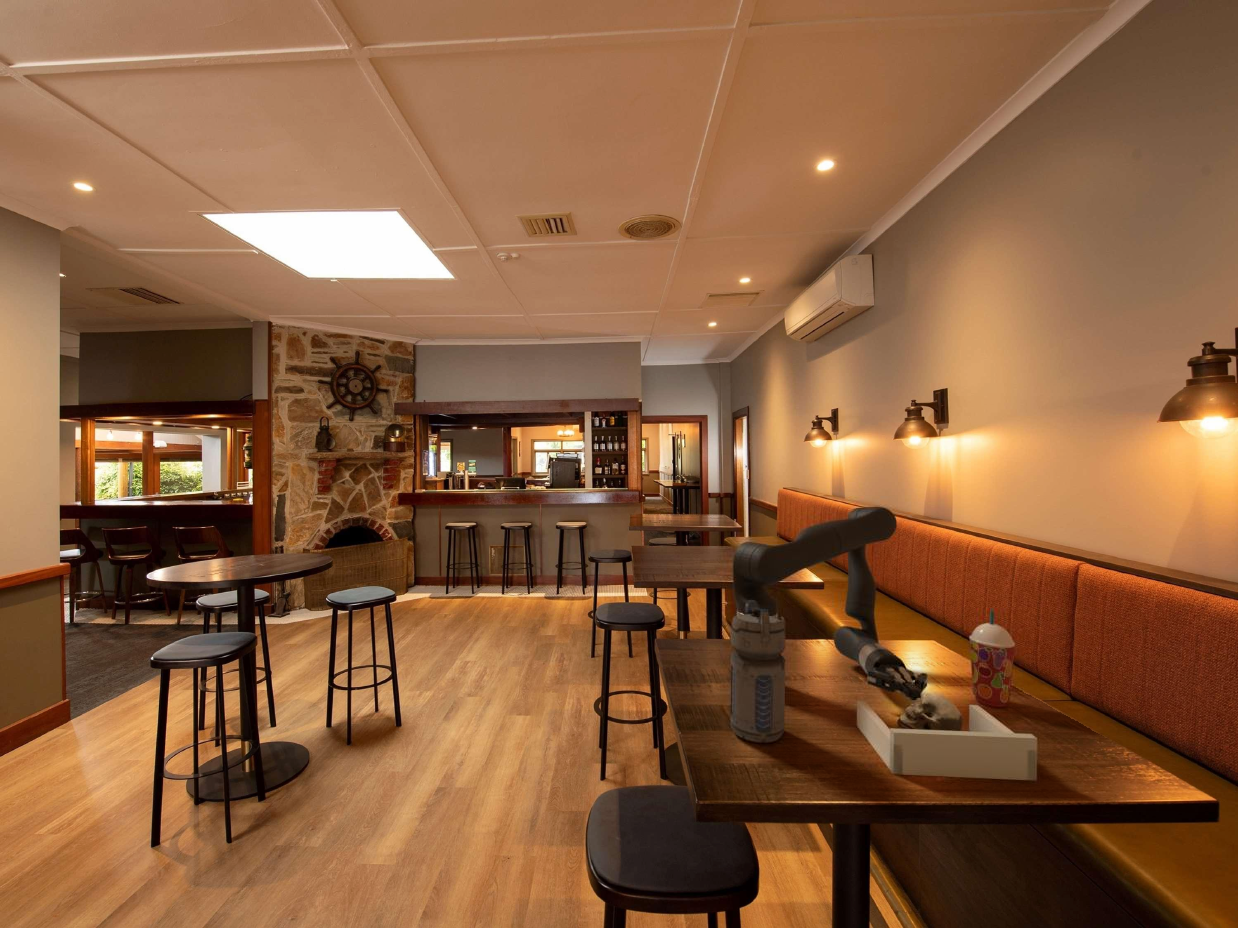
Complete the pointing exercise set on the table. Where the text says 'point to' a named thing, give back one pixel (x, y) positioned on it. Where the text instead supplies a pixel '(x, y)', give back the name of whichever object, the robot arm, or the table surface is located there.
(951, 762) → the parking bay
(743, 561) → the robot arm
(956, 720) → the skull
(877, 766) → the table surface
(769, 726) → the beverage bottle
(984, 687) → the smoothie
